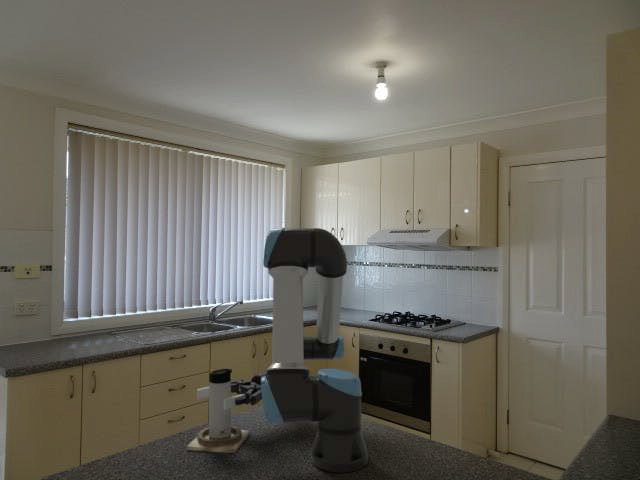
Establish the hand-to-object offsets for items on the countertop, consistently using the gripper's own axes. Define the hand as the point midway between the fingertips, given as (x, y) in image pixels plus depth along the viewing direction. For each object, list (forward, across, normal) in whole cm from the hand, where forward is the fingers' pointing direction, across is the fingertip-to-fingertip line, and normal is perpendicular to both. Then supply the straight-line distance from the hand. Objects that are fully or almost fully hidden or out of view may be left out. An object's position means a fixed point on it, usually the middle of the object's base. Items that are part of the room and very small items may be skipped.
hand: (210, 399), depth 136 cm
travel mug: (-3, 0, -12) cm, 13 cm away
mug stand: (-3, 0, -13) cm, 13 cm away
